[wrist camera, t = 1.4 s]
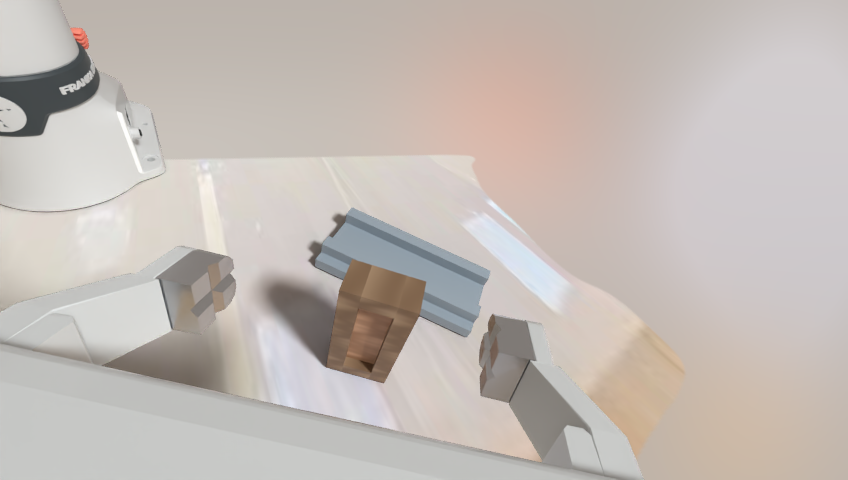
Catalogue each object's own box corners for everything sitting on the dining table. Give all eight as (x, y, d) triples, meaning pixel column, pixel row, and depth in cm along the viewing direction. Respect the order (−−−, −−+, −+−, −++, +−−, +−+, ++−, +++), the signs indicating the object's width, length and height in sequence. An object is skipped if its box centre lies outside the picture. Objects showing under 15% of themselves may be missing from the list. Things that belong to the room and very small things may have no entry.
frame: (326, 367, 34) (339, 290, 24) (336, 340, 36) (352, 258, 26) (383, 383, 35) (420, 314, 25) (390, 355, 37) (426, 281, 27)
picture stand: (315, 266, 42) (316, 251, 40) (353, 217, 49) (356, 202, 47) (466, 337, 41) (475, 325, 39) (483, 277, 48) (492, 264, 46)
